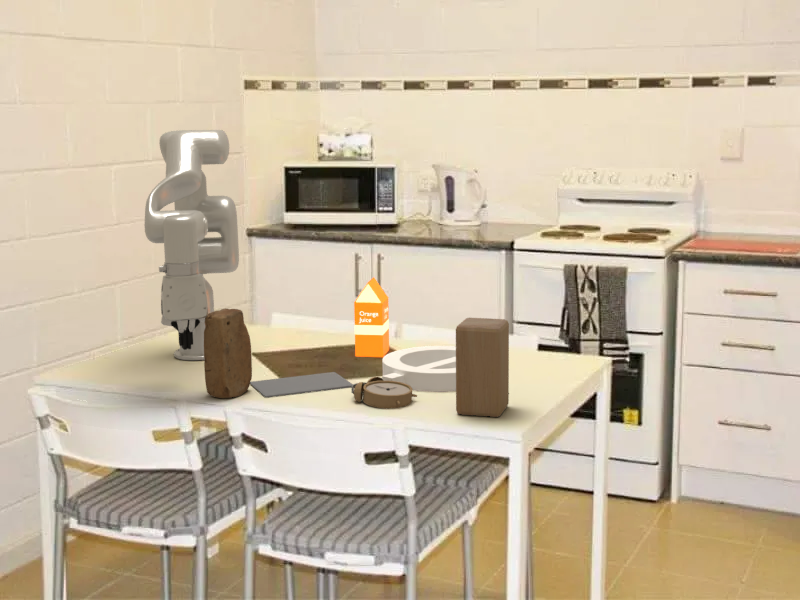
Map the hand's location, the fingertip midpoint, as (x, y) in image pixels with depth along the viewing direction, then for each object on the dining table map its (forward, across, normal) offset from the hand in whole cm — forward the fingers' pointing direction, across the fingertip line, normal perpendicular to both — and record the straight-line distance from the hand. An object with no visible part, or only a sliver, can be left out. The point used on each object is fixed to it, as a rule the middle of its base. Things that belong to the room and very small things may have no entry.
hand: (186, 348), depth 265 cm
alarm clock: (+12, +40, -20) cm, 47 cm away
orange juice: (+12, +54, +24) cm, 61 cm away
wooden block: (+12, +57, -38) cm, 69 cm away
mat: (+12, +27, 0) cm, 30 cm away
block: (+12, +10, 0) cm, 16 cm away
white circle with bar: (+13, +61, -6) cm, 62 cm away
